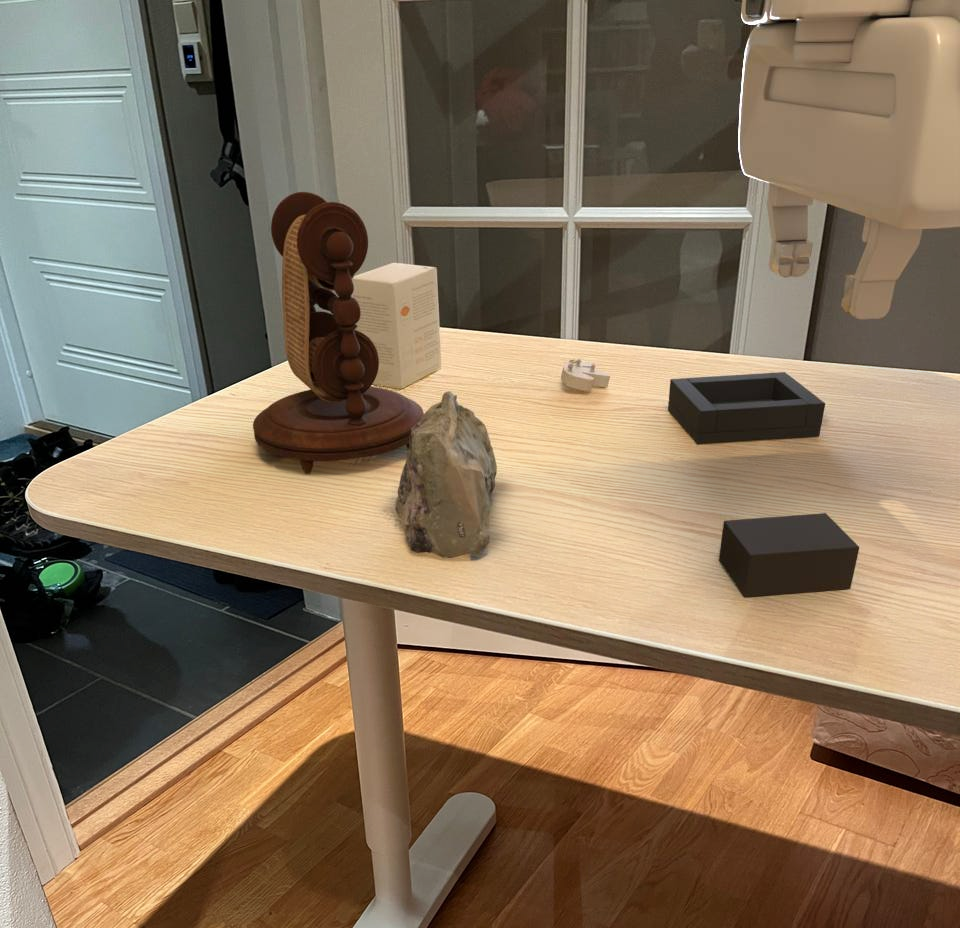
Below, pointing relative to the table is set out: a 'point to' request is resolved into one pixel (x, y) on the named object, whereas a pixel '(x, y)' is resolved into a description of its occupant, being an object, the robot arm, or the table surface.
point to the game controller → (581, 375)
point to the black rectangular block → (787, 554)
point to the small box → (400, 321)
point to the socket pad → (745, 408)
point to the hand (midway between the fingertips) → (822, 293)
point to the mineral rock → (447, 482)
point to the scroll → (328, 344)
